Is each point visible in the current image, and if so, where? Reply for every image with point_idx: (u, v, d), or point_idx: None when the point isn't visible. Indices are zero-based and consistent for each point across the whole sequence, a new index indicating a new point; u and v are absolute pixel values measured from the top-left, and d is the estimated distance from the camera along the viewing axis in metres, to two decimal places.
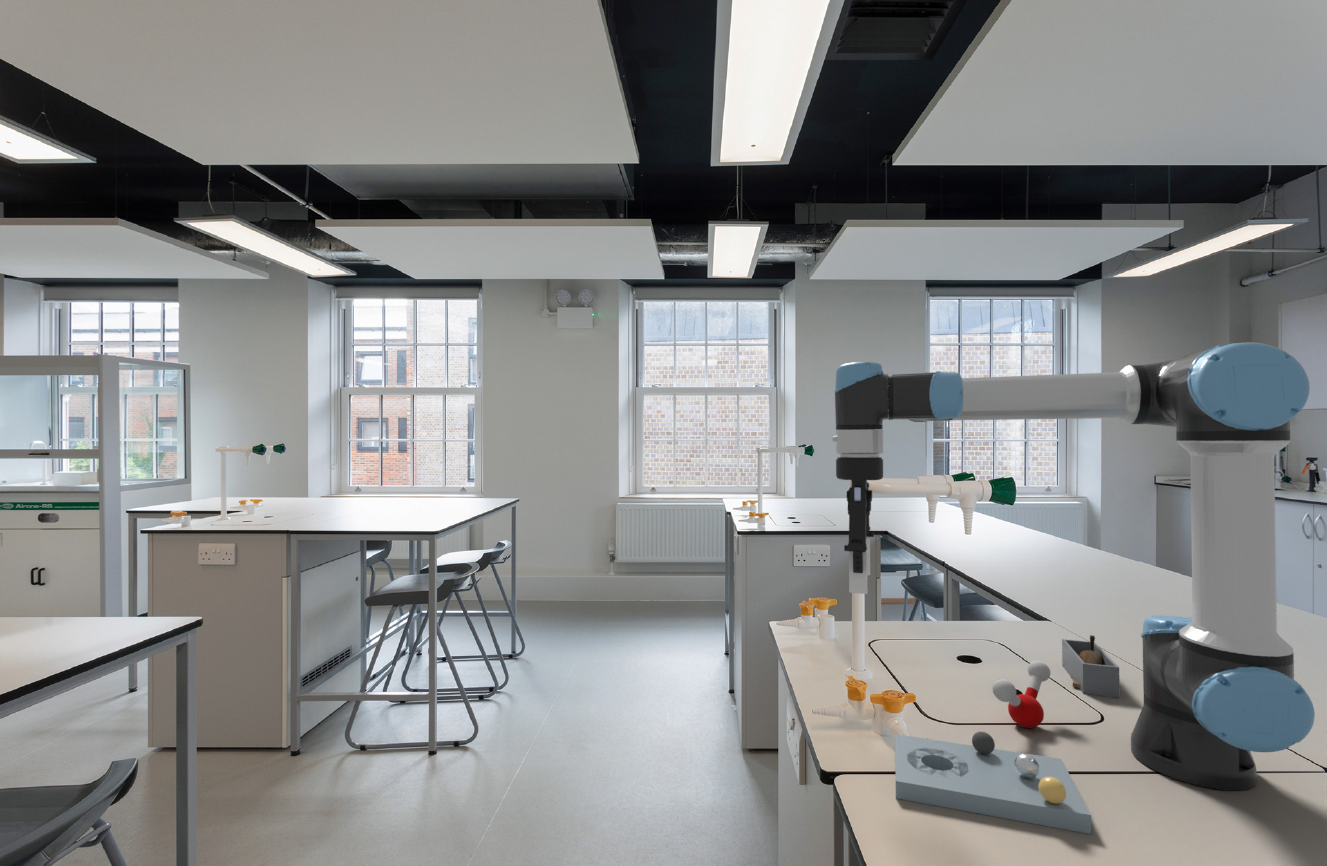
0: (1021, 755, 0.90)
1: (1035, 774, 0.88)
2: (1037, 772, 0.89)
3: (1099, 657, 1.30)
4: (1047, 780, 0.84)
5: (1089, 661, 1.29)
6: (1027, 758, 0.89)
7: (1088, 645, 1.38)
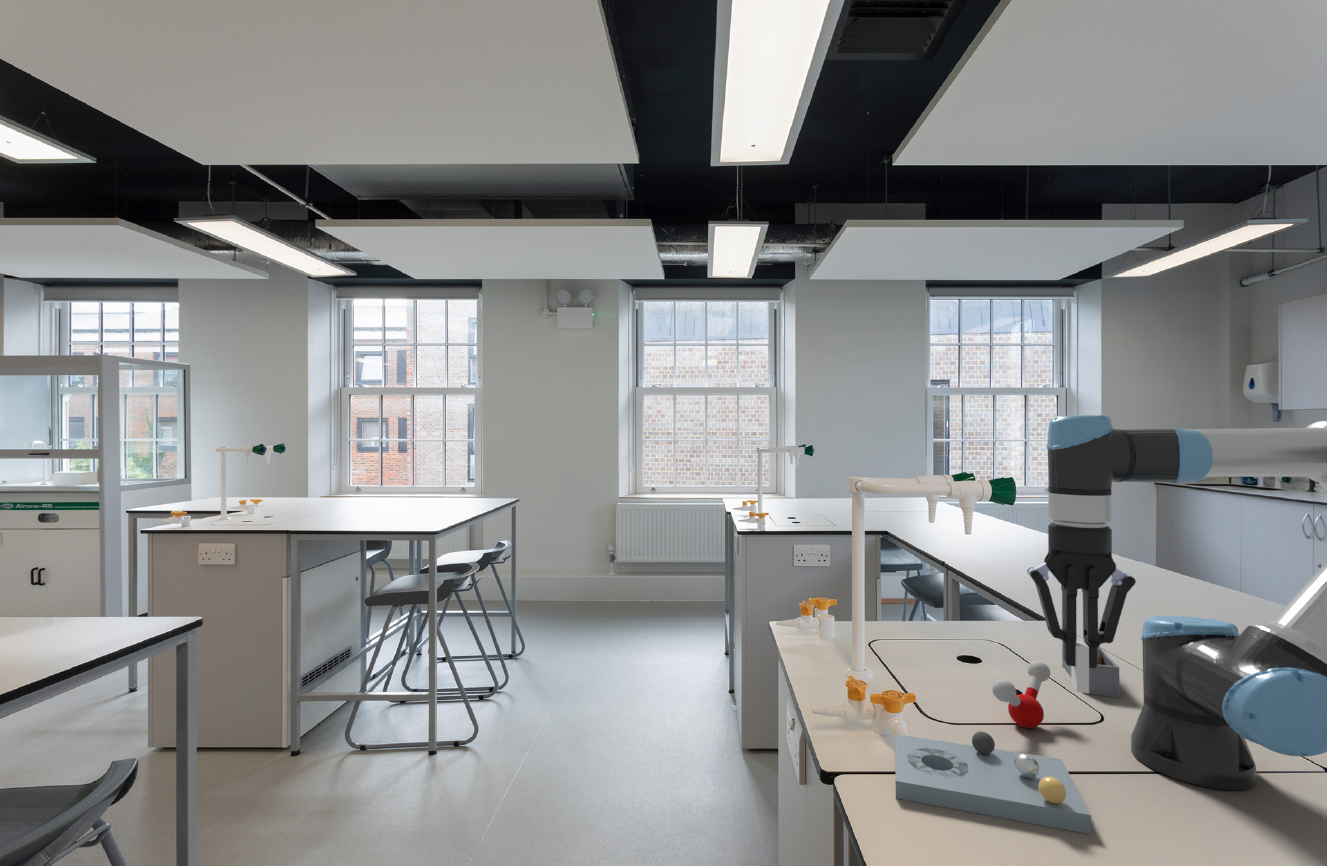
0: (1021, 755, 0.90)
1: (1035, 774, 0.88)
2: (1037, 772, 0.89)
3: (1099, 657, 1.30)
4: (1047, 780, 0.84)
5: None
6: (1027, 758, 0.89)
7: None
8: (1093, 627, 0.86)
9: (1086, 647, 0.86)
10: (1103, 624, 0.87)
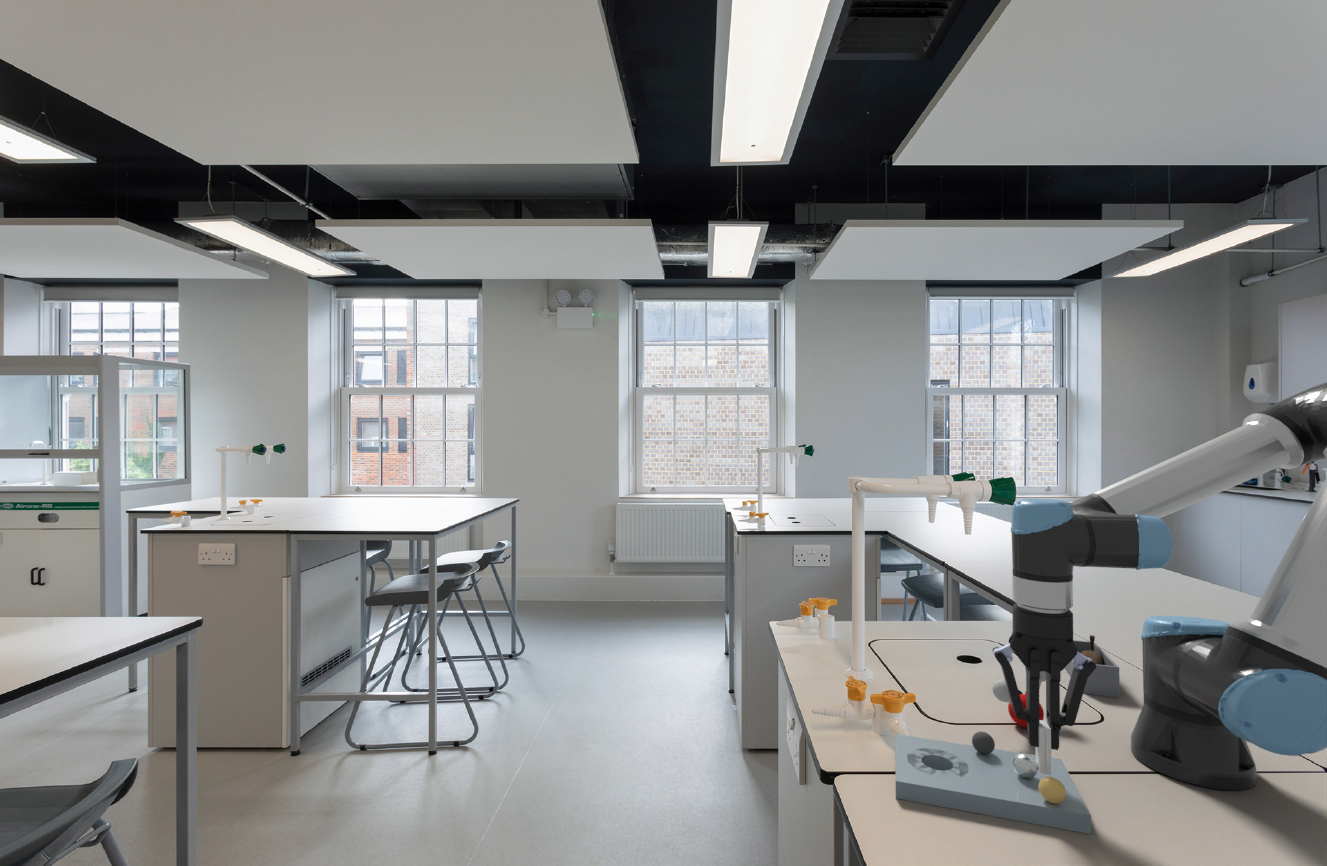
0: (1018, 755, 0.90)
1: (1034, 773, 0.89)
2: (1035, 771, 0.89)
3: (1099, 657, 1.30)
4: (1047, 780, 0.84)
5: None
6: (1024, 758, 0.89)
7: (1088, 645, 1.38)
8: (1055, 710, 0.88)
9: (1048, 729, 0.88)
10: (1065, 705, 0.89)
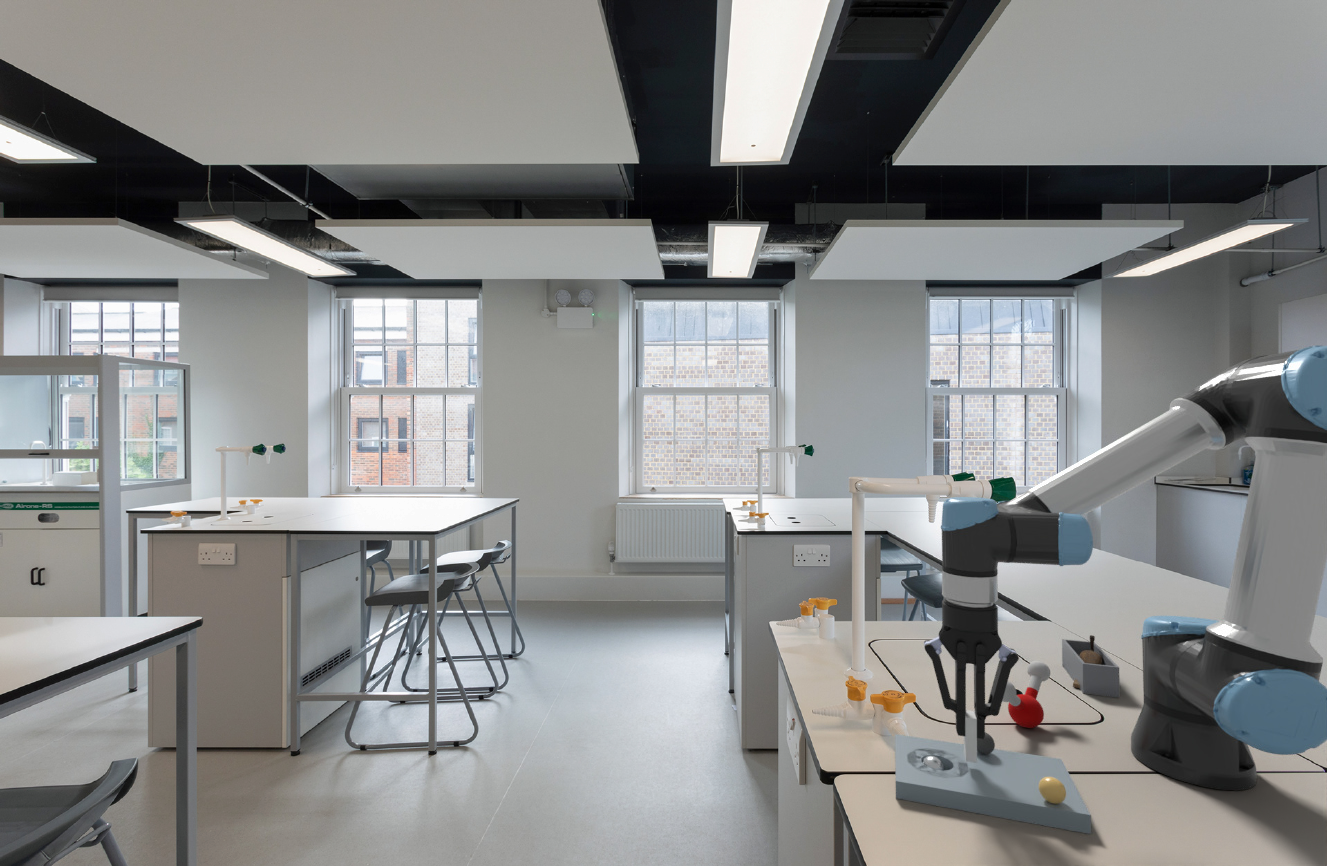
0: None
1: (931, 765, 0.93)
2: (928, 763, 0.94)
3: (1099, 657, 1.30)
4: (1047, 780, 0.84)
5: (1089, 661, 1.29)
6: None
7: (1088, 645, 1.38)
8: (981, 700, 0.91)
9: (974, 719, 0.91)
10: (991, 696, 0.92)
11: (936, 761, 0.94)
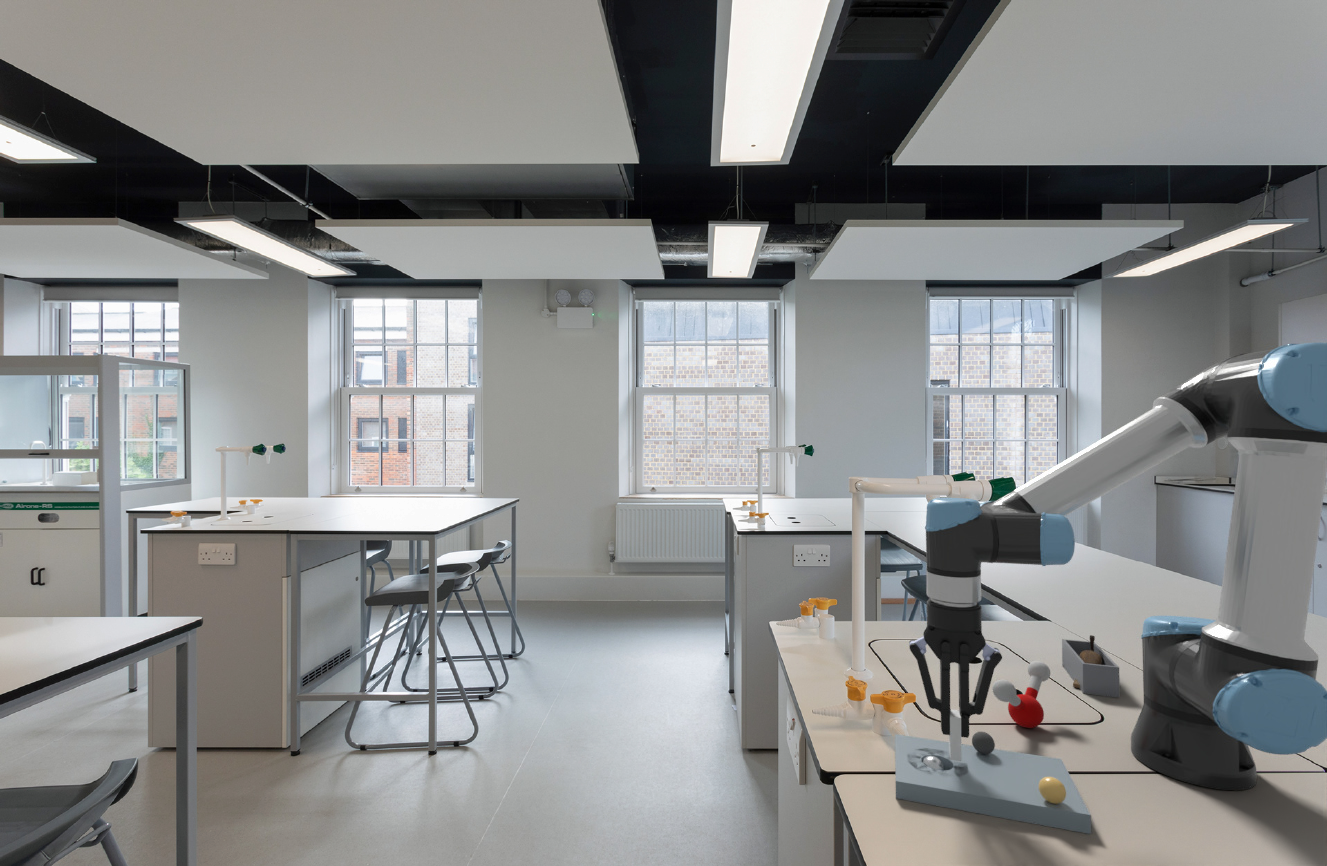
0: None
1: (931, 765, 0.93)
2: (928, 763, 0.94)
3: (1099, 657, 1.30)
4: (1047, 780, 0.84)
5: (1089, 661, 1.29)
6: None
7: (1088, 645, 1.38)
8: (965, 699, 0.92)
9: (958, 718, 0.92)
10: (976, 695, 0.93)
11: (936, 761, 0.94)
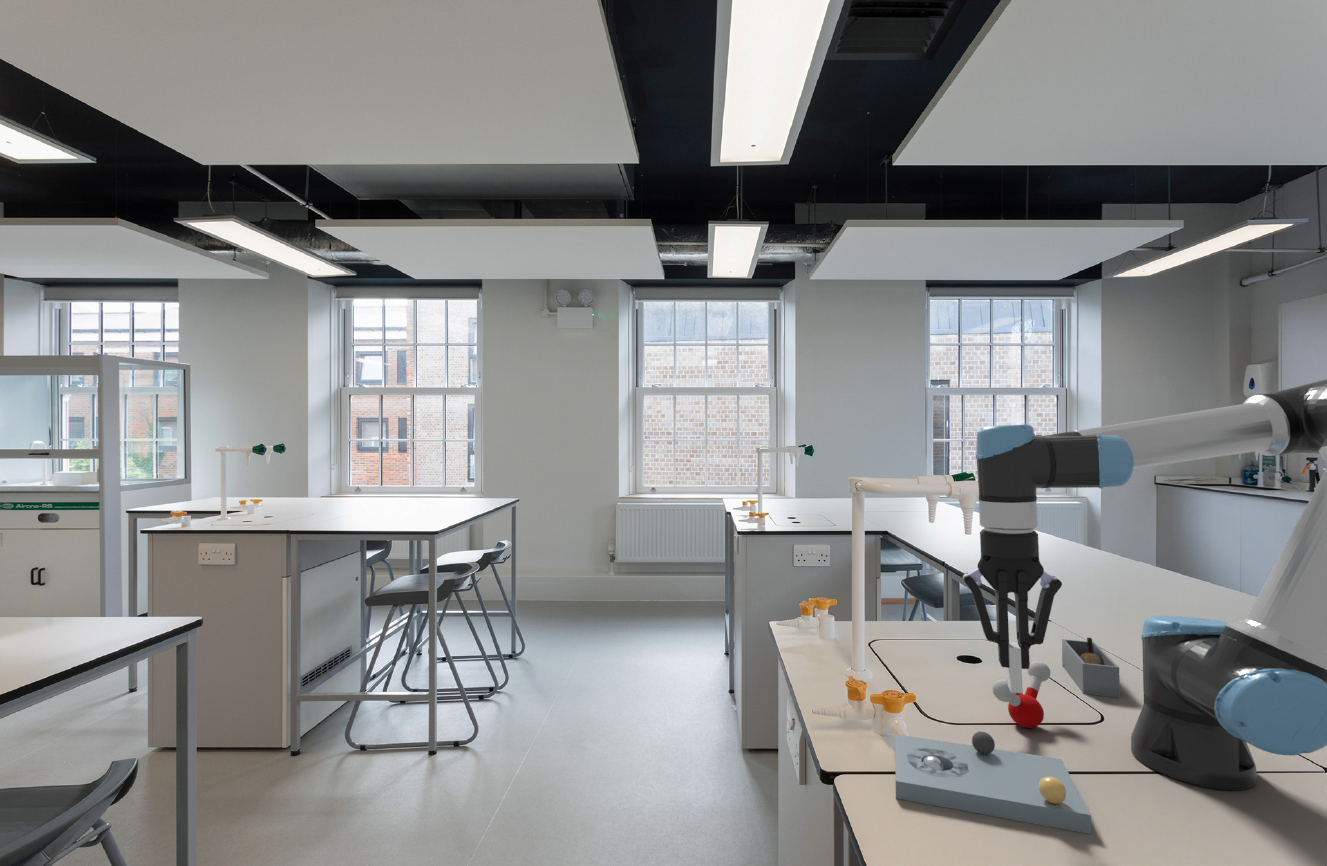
0: None
1: (931, 765, 0.93)
2: (928, 763, 0.94)
3: (1100, 659, 1.30)
4: (1047, 780, 0.84)
5: None
6: None
7: None
8: (1024, 629, 0.89)
9: (1018, 649, 0.89)
10: (1035, 626, 0.90)
11: (936, 761, 0.94)
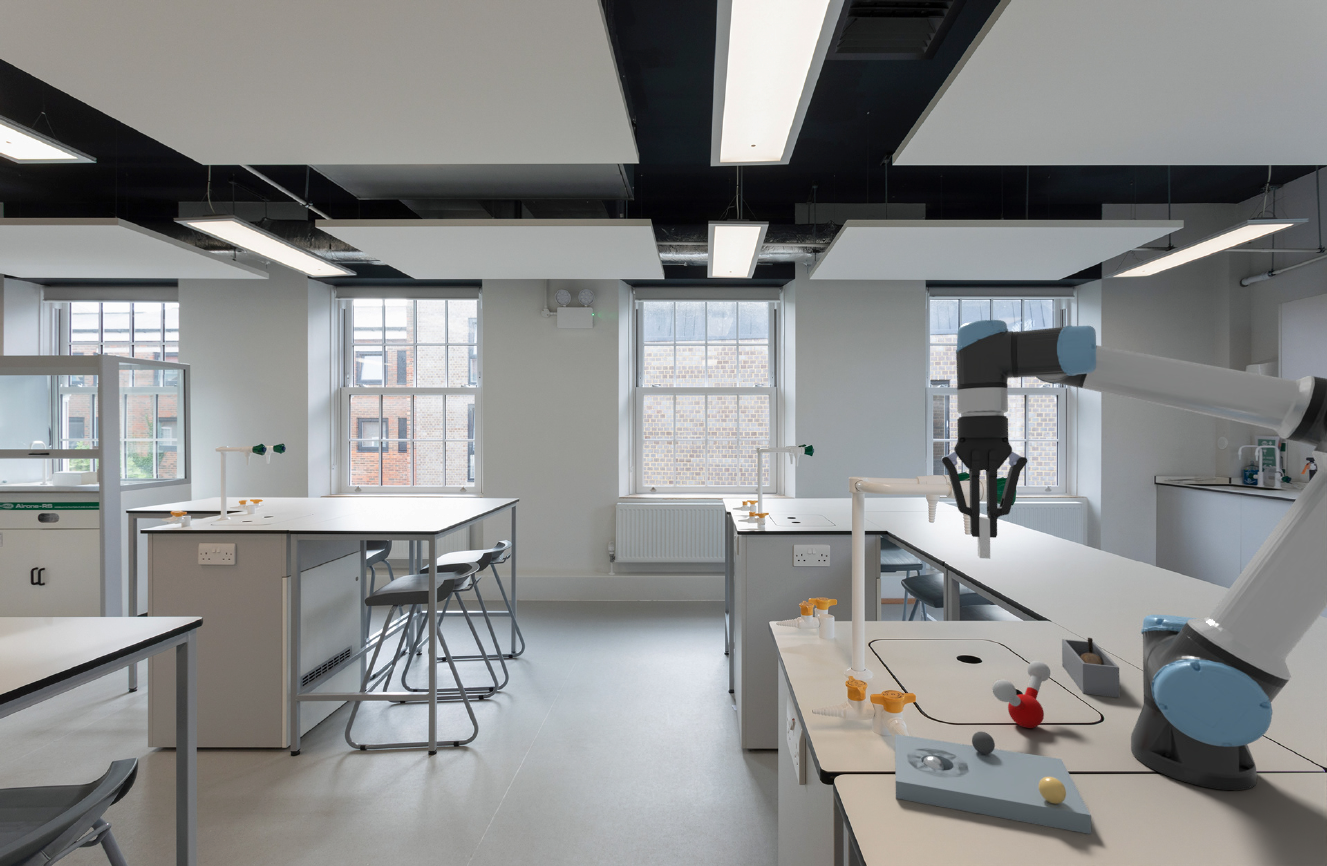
0: None
1: (931, 765, 0.93)
2: (928, 763, 0.94)
3: (1100, 659, 1.30)
4: (1047, 780, 0.84)
5: None
6: None
7: None
8: (993, 502, 1.01)
9: (987, 519, 1.01)
10: (1003, 501, 1.02)
11: (936, 761, 0.94)
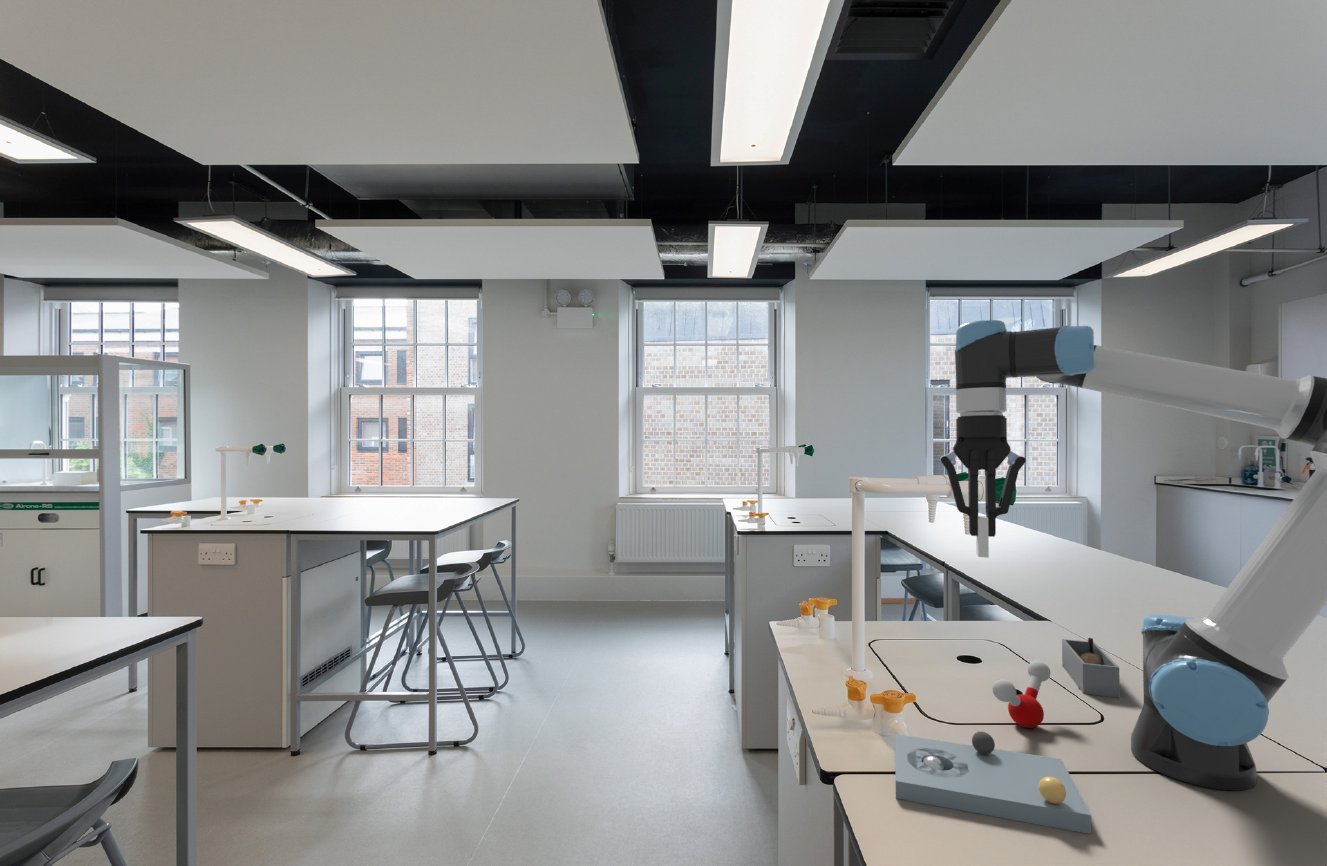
0: None
1: (931, 765, 0.93)
2: (928, 763, 0.94)
3: (1100, 659, 1.30)
4: (1047, 780, 0.84)
5: None
6: None
7: (1088, 645, 1.38)
8: (992, 501, 1.01)
9: (986, 518, 1.01)
10: (1001, 500, 1.03)
11: (936, 761, 0.94)
